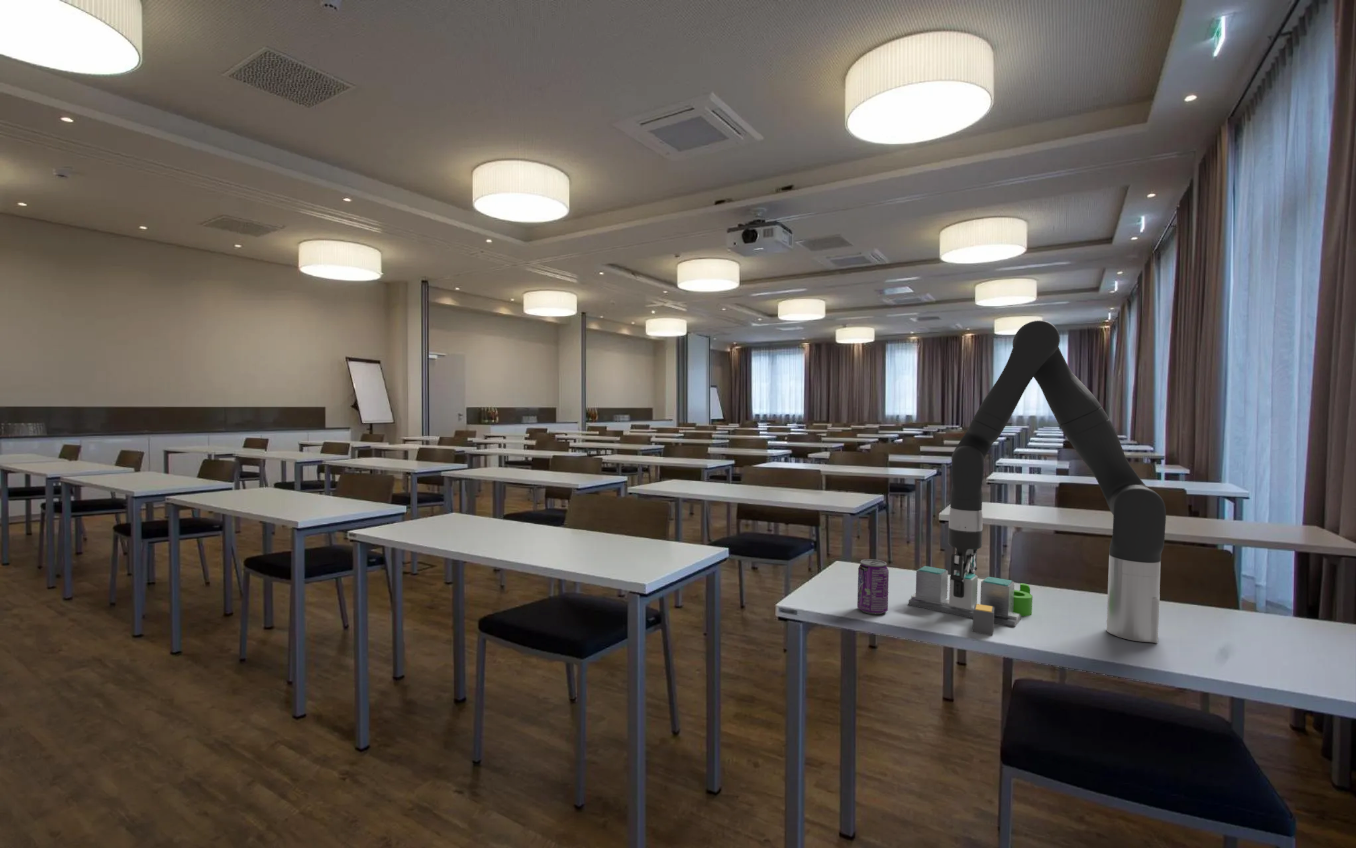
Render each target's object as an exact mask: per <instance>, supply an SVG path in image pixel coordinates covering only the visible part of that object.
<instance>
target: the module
mask: <svg viewBox="0 0 1356 848" xmlns="http://www.w3.org/2000/svg"><path fill="white" fill-rule="evenodd" d="M957 576H959V573H957ZM978 580H979V577H978V575H976V573H975V574H970V573H968V574H967V575H966V576H965V581H964V597H963V598H959V597H955V596H954V595H953V590H954V581H953V580H951V578H950V577H949V599H948V600H949V605H952V606H957V607H962V608H967V609H972V608H973V607H974V606H975V604H978V582H979V581H978Z"/></svg>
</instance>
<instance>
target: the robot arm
mask: <svg viewBox="0 0 1356 848" xmlns="http://www.w3.org/2000/svg"><path fill="white" fill-rule="evenodd" d="M1060 339H1061V336H1060V333H1059V330H1058V329H1057V327H1056V326H1055V325H1054V324H1053V323H1051V322H1050V321H1046V320H1039V319H1038V320H1032V321H1029V322H1027V323H1025V324H1024V325H1021V327H1020V328H1019V329H1018V330H1017V332H1016V333H1015V334H1014V336H1013V341H1012V349H1011V351H1010V354H1009V357H1008V360H1007V362H1006V364H1005V366H1004V368H1003V370H1002V372H1001V373H1000V375H999V376H998V378H997V379H996V381H995V383H994V384H993V386H992V388H991V389H990V391H989V392H987V395H986V396H985V398H984V399H983V401H982V402H981V403H980V406H979V407H978V410H977V411H976V412H975V414H974V416H973V418H972V420H971V422H970V424H969V427H968V429H967V430H966V432H965V433H964V435H963V436H962V438H961V439H960V441H959V442H958V444H957V445H956V447H955V448H954V450H953V452H952V454H951V478H952V479H951V480H952V481H951V482H952V485H951V490H950V502H949V504H950V505H949V507H950V509H949V514H948V532H947V534H948V535H947V538H948V539H947V543H948V545H949V546H950V547H954V548H955V549H956V550H955V553H954V554H953V553H952V554H951V556H950V559H951V560H950V576H949V579H950V578H951V580H953V581H954V590H953V595H954V596H955V597H959V598H963V597H964V581H965V576H966V575H967V574H968V573H970V574H976V571H977V570H978V550H979V549H981V548H982V547H983V526H984V523H983V522H984V521H983V519H984V518H983V517H984V516H983V489H982V486H983V480H984V473H985V472H984V469H985V458H986V456H987V455H988V453H989V451H990V449H991V447H992V445H993V444H994V443H995V442H996V441H997V440H998V439H999V437H1000V436H1001V434H1002V433H1003V431H1004V429H1005V428H1006V426H1007V424H1008V423H1009V421H1010V419H1011V417H1012V415H1013V414H1014V412H1015V409H1017V406H1018V404H1019V402H1020V401H1021V398H1022V397H1023V394H1024V392H1025V391H1026V389H1027V388H1028V385H1029V384H1030V383H1031V381H1032V379H1033V378H1034V380H1035V381H1036V383H1037V384H1038V386H1039V388H1040V389H1041V392H1042V394H1043V396H1044V398H1045V401H1046V402H1047V404H1048V407H1049V408H1050V410H1051V412H1052V414H1053V416H1054V418H1055V419H1056V421H1057V424H1058V425H1059V427H1060V429H1061V430H1062V432H1063V433H1064V435H1065V437H1066V439H1067V441H1068V442H1069V443H1070V445H1071V446H1072V448H1073V449H1074V450H1075V452H1076V453H1077V454H1078V456H1079V457H1080V458H1081V460H1082V461H1083V462H1084V464H1085V465H1086V466H1087V468H1089V470H1090V471H1091V473H1092V474H1093V476H1094V478H1095V479H1096V481H1097V483H1098V485H1099V488H1100V490H1101V492H1102V494H1103V497H1104V498H1105V501H1106V504H1107V506H1108V509H1109V510H1110V513H1111V514H1112V516H1113V517H1112V518H1113V519H1112V537H1111V540H1110V543H1109V546H1108V547H1109V549H1108V552H1109V553H1108V554H1109V555H1108V577H1107V578H1108V579H1107V580H1108V581H1107V602H1106V603H1107V605H1106V609H1107V610H1106V631H1107V633H1109V634H1111V635H1113V636H1116V637H1118V638H1121V639H1125V640H1128V641H1134V642H1141V643H1142V642H1143V643H1154V644H1158V643H1159V642H1158V641H1159V627H1160V626H1159V625H1160V598H1161V596H1160V595H1161V594H1160V593H1161V592H1160V590H1161V589H1160V588H1161V586H1160V585H1161V562H1162V553H1163V550H1164V547H1165V538H1166V537H1165V536H1166V521H1167V510H1166V509H1167V508H1166V504H1165V502H1164V499H1163V498H1162V496H1160V495H1159V494H1158V493H1157V492H1156V491H1154V489H1151V488H1149V487H1148V486H1147V485H1146V484H1145V483H1144V481H1142V479H1141V478H1140V477H1139V475H1138V473H1137V472H1136V471H1135V470H1134V468H1133V467H1132V466H1131V464H1130V463H1129V460H1128V459H1127V457H1126V454H1125V452H1124V449H1123V446H1122V444H1121V441H1120V438H1119V436H1118V434H1117V432H1116V428H1115V427H1114V425H1113V422H1112V421H1111V419H1110V417H1109V415H1108V414H1107V413H1106V411H1105V409H1104V408H1103V407H1102V405H1101V403H1100V401H1099V400H1098V399H1097V398H1096V397H1095V395H1094V394H1093V393H1092V392H1091V390H1090V389H1088V388H1087V386H1086V385H1084V383H1083V382H1082V381H1081V380H1080V379H1079V378H1078V377H1077V376H1076V375H1075V373H1074V372H1073V370H1072V369H1071V368H1070V366H1069V365H1068V363H1067V361H1066V359H1065V357H1064V355H1063V353H1062V351H1061V349H1060V347H1059V346H1060V344H1061V343H1060V342H1061V340H1060ZM957 573H959V576H957Z"/></svg>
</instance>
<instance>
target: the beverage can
mask: <svg viewBox="0 0 1356 848" xmlns="http://www.w3.org/2000/svg"><path fill="white" fill-rule="evenodd" d="M887 565H888V564H887V562H886V561H883V560H880V559H871V558H869V559H867V558H866V559H861V560H860V564H859V566H858V571H857V598H856V599H857V609H858V610H860V611H861V612H863V613H864V614H869V615H882V614H883V613H886V612H887V611H888V610H889V577H890V576H889V575H890V574H889V573H890V572H889V571H890V570H889V569H888V566H887Z"/></svg>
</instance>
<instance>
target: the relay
mask: <svg viewBox="0 0 1356 848" xmlns="http://www.w3.org/2000/svg"><path fill="white" fill-rule="evenodd" d="M994 630H995V623H994V607H992V606H987V605H981V604H980V603H977V604H975V606H974V610H973V618H972V633H977V634H980V635H987V636H994Z"/></svg>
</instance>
